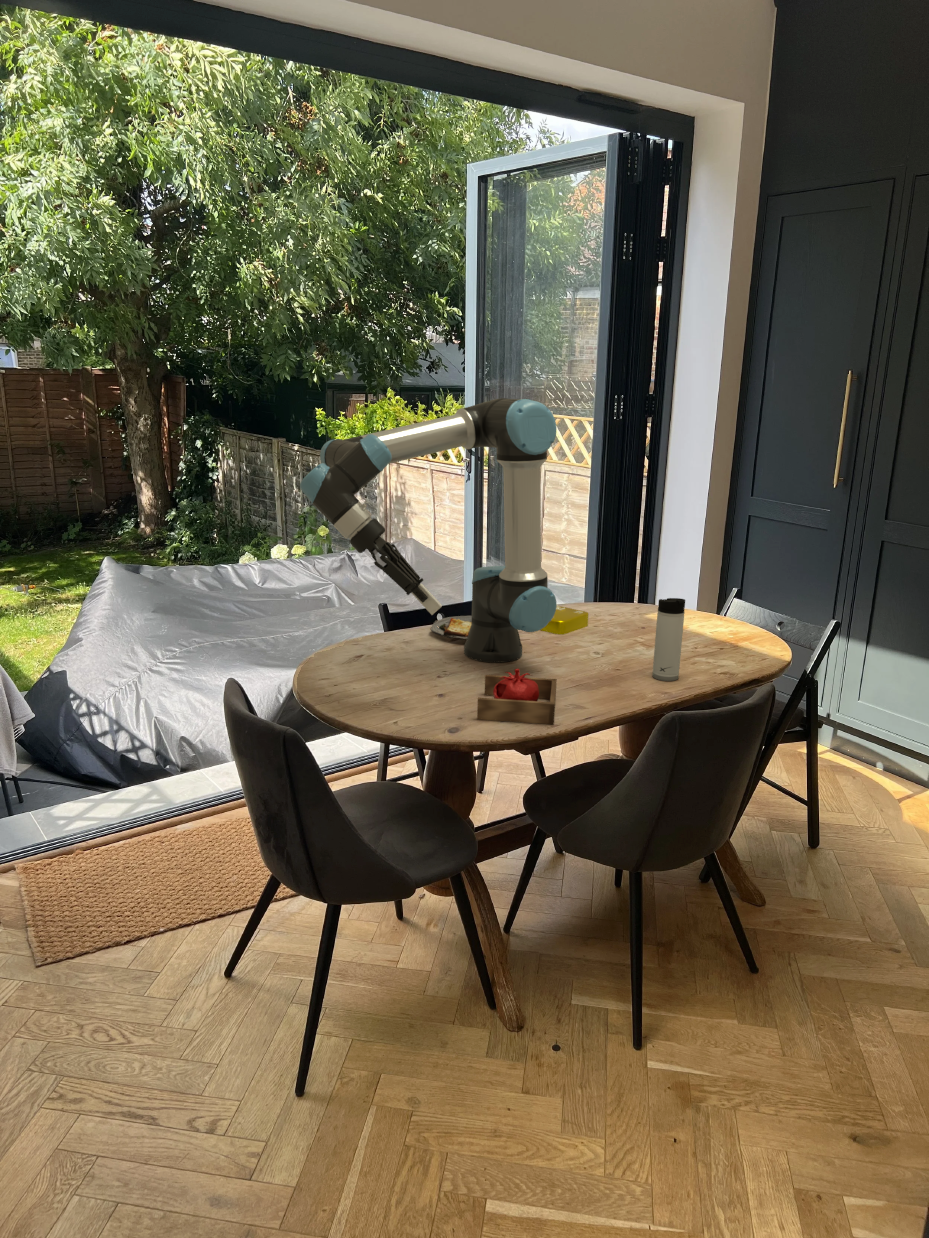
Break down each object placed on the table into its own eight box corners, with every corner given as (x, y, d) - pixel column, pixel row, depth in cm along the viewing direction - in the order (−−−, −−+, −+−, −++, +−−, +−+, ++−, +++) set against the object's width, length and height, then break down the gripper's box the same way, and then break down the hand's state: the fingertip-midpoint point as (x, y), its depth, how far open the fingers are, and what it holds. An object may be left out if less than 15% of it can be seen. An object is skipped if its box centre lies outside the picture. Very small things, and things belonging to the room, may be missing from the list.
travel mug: (664, 683, 211) (671, 601, 206) (646, 675, 216) (653, 595, 211) (684, 679, 214) (692, 599, 208) (666, 671, 219) (673, 593, 214)
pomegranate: (541, 704, 196) (544, 664, 194) (533, 719, 187) (537, 677, 184) (497, 698, 198) (499, 658, 196) (488, 713, 189) (490, 672, 186)
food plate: (509, 648, 235) (509, 635, 234) (423, 643, 239) (423, 630, 238) (520, 626, 259) (520, 614, 258) (442, 621, 263) (442, 610, 262)
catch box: (477, 719, 186) (477, 699, 185) (484, 693, 201) (485, 674, 200) (553, 724, 184) (554, 704, 183) (555, 698, 199) (556, 679, 198)
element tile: (518, 626, 258) (519, 610, 257) (548, 617, 269) (549, 601, 268) (561, 636, 249) (562, 620, 247) (590, 626, 260) (591, 610, 258)
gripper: (366, 522, 179) (445, 607, 182) (379, 511, 191) (453, 591, 194) (340, 546, 181) (419, 630, 184) (355, 534, 193) (428, 613, 196)
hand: (436, 610), depth 189 cm, fingers closed
